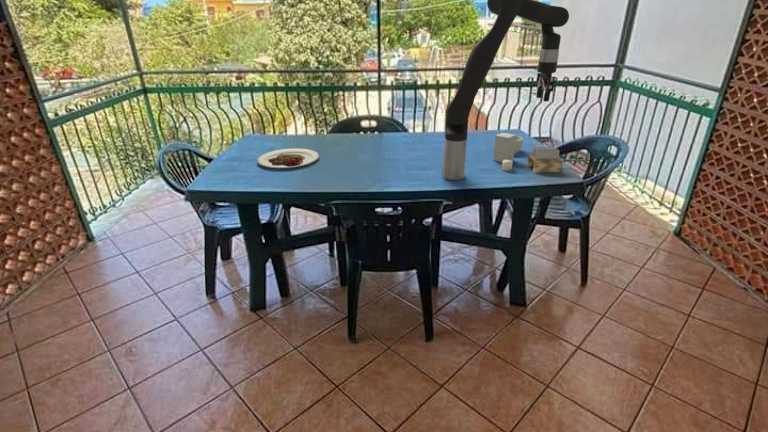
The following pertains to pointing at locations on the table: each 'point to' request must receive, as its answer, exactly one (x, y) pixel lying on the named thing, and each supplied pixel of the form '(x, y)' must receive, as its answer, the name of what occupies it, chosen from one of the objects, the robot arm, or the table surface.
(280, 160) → the plated food
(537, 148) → the housing
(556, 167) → the stand
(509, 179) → the table surface
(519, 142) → the ramekin
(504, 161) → the beige cube
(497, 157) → the supplement box
